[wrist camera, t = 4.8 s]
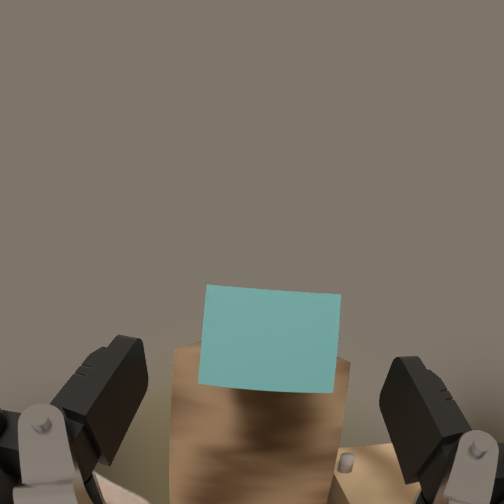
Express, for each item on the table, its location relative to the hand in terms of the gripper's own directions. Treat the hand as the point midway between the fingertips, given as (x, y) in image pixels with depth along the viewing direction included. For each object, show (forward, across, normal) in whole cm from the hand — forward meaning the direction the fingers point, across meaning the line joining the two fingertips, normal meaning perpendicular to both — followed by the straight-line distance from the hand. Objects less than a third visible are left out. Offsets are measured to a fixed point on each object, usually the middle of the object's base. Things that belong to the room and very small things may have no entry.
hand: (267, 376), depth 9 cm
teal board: (+8, 0, +5) cm, 9 cm away
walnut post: (-5, 0, +35) cm, 35 cm away
